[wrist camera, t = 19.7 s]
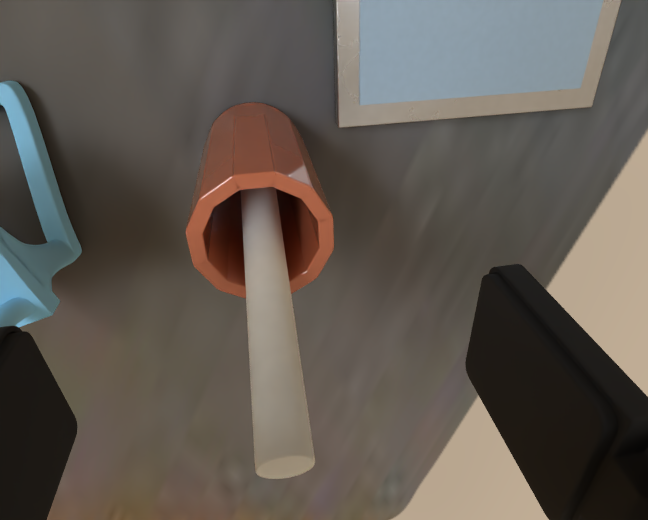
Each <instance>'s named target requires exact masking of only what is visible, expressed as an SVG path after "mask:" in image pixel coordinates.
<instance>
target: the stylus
mask: <svg viewBox="0 0 648 520" xmlns="http://www.w3.org/2000/svg"><path fill="white" fill-rule="evenodd" d="M240 191H241V209H242V228H243V247H244V266H245V285H246V304H247V322H248V341H249V360H250V379H251V398H252V417H253V435H254V454H255V471H256V473H257V474H258V475H259V476H261V477H264V478H270V479H281V478H288V477H293V476H297V475H300V474H302V473H304V472H306V471H308V470H310V469H311V468H312V467H313V466H314V464H315V457H314V450H313V443H312V436H311V429H310V422H309V415H308V408H307V402H306V395H305V388H304V381H303V374H302V367H301V360H300V353H299V346H298V339H297V332H296V325H295V318H294V311H293V304H292V297H291V290H290V283H289V276H288V269H287V262H286V255H285V248H284V242H283V235H282V228H281V221H280V214H279V207H278V200H277V193H276V188H274V187H266V188H255V189H245V190H240Z"/></svg>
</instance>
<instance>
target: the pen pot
mask: <svg viewBox="0 0 648 520" xmlns="http://www.w3.org/2000/svg"><path fill="white" fill-rule="evenodd" d="M266 187H274V188H276V193H277V200H278V207H279V214H280V221H281V228H282V235H283V242H284V248H285V255H286V262H287V269H288V276H289V283H290V290H291V294H292V293H294V292H295V291H297V290H298V289H300V288H302V287H303V286H305V285H307V284H308V283H310V282H311V281H313V280H315V279H316V277H318V276H319V274H320V272H321V270H322V269H323V267H324V265H325V264H326V262H327V260H328V259H329V257H330V255H331V254H332V252H333V249H334V228H333V216H332V213H331V210H330V208H329V205H328V203H327V200H326V198H325V195H324V193H323V190H322V187H321V185H320V182H319V180H318V177H317V175H316V172H315V170H314V167H313V164H312V162H311V159H310V157H309V154H308V152H307V149H306V147H305V144H304V141H303V139H302V137H301V135H300V134H299V132H298V130H297V128H296V127H295V125H294V123H293V122H292V121H291V120H290V118H289V117H287V115H285V114H284V113H283V112H281V111H280V110H278V109H277V108H275V107H272V106H270V105H267V104H263V103H256V102H249V103H242V104H239V105H236V106H233V107H231V108H229V109H228V110H226V111H224V112H223V113H222V114H221V115H220V116H219V117H218V118H217V119H216V120H215V121H214V122H213V124H212V127H211V129H210V131H209V134H208V137H207V140H206V142H205V145H204V149H203V154H202V158H201V163H200V167H199V172H198V177H197V181H196V186H195V190H194V195H193V200H192V204H191V209H190V213H189V218H188V222H187V227H186V237H187V241H188V246H189V250H190V254H191V258H192V263H193V265H194V267H195V268H196V269H197V270H198V271H199V272H200V273H201V274H202V275H203V276H204V277H206V278H207V279H208V280H209V281H210V282H211V283H212V284H213V285H214V286H215V287H216V288H217V289H219V290H220V291H223V292H226V293H229V294H233V295H236V296H239V297H242V298H246V285H245V266H244V247H243V228H242V209H241V191H240V190H245V189H255V188H266Z"/></svg>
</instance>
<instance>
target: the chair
mask: <svg viewBox="0 0 648 520" xmlns="http://www.w3.org/2000/svg"><path fill="white" fill-rule="evenodd" d="M0 105H2V106H3V107H4V108H5V110H6V113H7V115H8V118H9V121H10V125H11V128H12V131H13V134H14V138H15V141H16V144H17V147H18V151H19V154H20V158H21V161H22V164H23V168H24V171H25V175H26V178H27V181H28V185H29V188H30V191H31V195H32V198H33V201H34V205H35V208H36V211H37V214H38V217H39V220H40V223H41V226H42V230H43V232H44V235H45V237H46V240H47V242H48V243H45V244H40V245H31V244H25V243H23V242H21V241H19V240H17V239H16V238H14V237H13V236H12V235H10V234H9V233H8V232H6V231H5V230H4V229H3V228H2V227H0V327H5V326H17V327H21V326H24V325H26V324H29V323H32V322H35V321H37V320H40V319H43V318H46V317H49V316H51V315H53V313H54V312H55V310H56V308H57V306H58V305H59V303H60V300H59V299H58V298H57V296H56V295H55V294H54V293H53V292H52V277H53V276H54V275H55V274H56V272H58V271H59V270H60V269H62V268H64V267H65V266H67V265H69V264H71V263H73V262H74V261H75V260H76V259H77V258H78V257H79V256H80V255H81V252H82V249H81V245H80V243H79V241H78V239H77V237H76V234H75V232H74V230H73V227H72V225H71V222H70V220H69V217H68V215H67V212H66V209H65V206H64V203H63V200H62V197H61V194H60V191H59V187H58V184H57V181H56V178H55V175H54V171H53V168H52V165H51V162H50V159H49V155H48V152H47V149H46V146H45V143H44V139H43V136H42V133H41V130H40V128H39V125H38V122H37V119H36V116H35V113H34V110H33V108H32V106H31V103H30V101H29V98H28V96H27V94H26V93H25V91H24V89H23V88H22V86H21V85H20V84H19V83H18V82H16V81H4V82H1V83H0Z"/></svg>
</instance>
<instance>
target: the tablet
mask: <svg viewBox="0 0 648 520" xmlns="http://www.w3.org/2000/svg"><path fill="white" fill-rule="evenodd" d="M620 4H621V0H333V30H334V75H335V119H336V124H337V126H338V127H339V128H344V127H356V126H368V125H380V124H392V123H404V122H417V121H429V120H441V119H453V118H465V117H477V116H489V115H501V114H513V113H525V112H538V111H550V110H562V109H574V108H586V107H592V104H593V101H594V97H595V93H596V90H597V86H598V83H599V79H600V75H601V72H602V68H603V65H604V61H605V58H606V54H607V50H608V47H609V43H610V40H611V36H612V32H613V29H614V25H615V22H616V18H617V15H618V11H619V7H620Z"/></svg>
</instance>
